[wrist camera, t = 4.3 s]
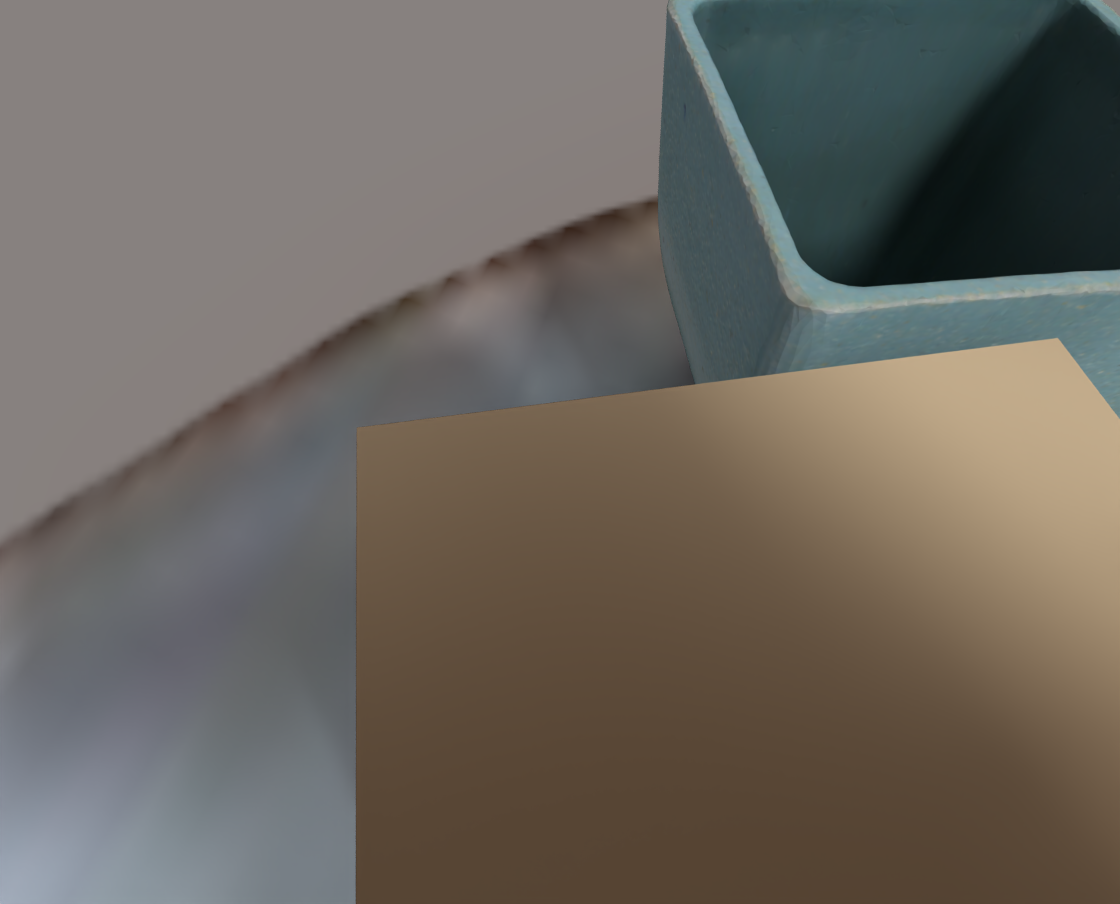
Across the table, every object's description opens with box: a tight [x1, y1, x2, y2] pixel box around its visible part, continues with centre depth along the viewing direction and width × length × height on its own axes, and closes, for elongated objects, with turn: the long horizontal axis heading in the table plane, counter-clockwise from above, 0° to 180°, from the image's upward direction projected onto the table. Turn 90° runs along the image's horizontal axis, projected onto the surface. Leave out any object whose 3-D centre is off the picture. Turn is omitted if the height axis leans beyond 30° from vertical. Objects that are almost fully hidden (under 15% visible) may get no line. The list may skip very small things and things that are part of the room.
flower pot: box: [658, 0, 1120, 419], centre depth 14 cm, size 9×9×9 cm
